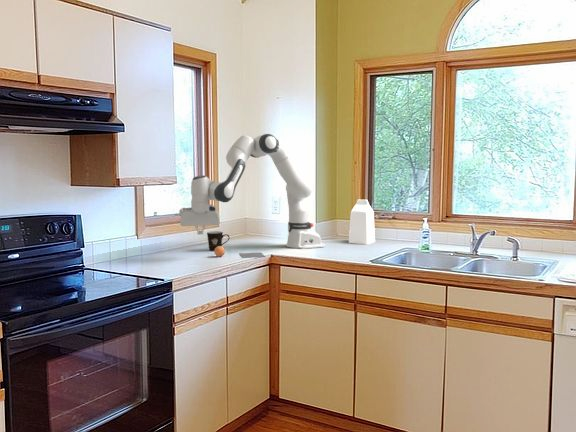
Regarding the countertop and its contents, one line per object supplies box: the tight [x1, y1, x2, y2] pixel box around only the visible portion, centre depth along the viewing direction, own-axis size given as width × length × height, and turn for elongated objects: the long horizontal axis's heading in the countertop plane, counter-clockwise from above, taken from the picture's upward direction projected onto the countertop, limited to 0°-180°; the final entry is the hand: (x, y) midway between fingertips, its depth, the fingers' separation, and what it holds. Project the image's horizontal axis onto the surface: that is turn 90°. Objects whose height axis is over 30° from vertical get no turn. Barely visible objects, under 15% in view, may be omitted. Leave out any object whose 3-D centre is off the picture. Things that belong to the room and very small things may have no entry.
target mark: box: [239, 252, 266, 259], centre depth 289 cm, size 12×12×1 cm
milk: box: [348, 199, 376, 245], centre depth 330 cm, size 12×12×26 cm
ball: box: [213, 245, 226, 258], centre depth 285 cm, size 6×6×6 cm
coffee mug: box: [206, 230, 230, 252], centre depth 304 cm, size 12×9×10 cm
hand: (200, 234), depth 281 cm, fingers closed
